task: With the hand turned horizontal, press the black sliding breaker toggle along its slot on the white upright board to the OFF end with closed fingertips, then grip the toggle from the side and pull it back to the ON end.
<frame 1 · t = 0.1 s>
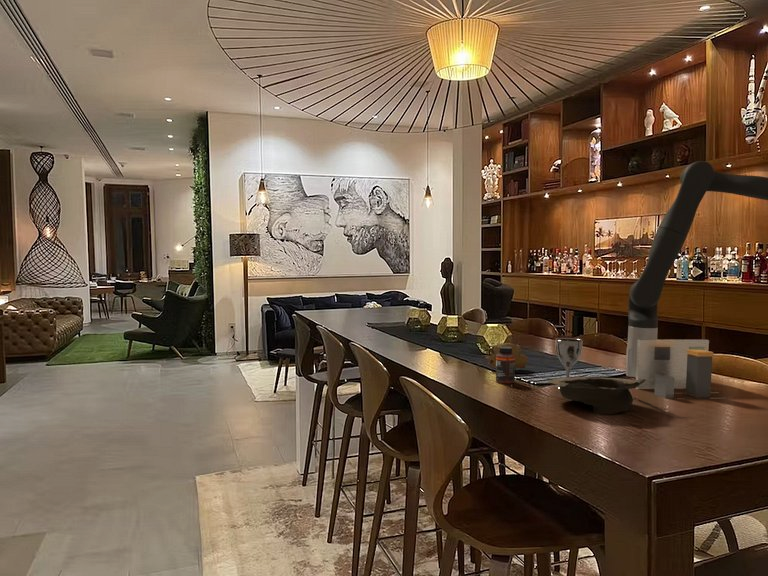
supplement bottle: (504, 383, 186), on the table
white upright board: (697, 399, 168), on the table
wine glass: (567, 388, 180), on the table
breaker toggle: (698, 373, 168), point 8 cm above the table, slide at 6.0 cm
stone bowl: (593, 407, 158), on the table
wooden carving: (505, 371, 206), on the table
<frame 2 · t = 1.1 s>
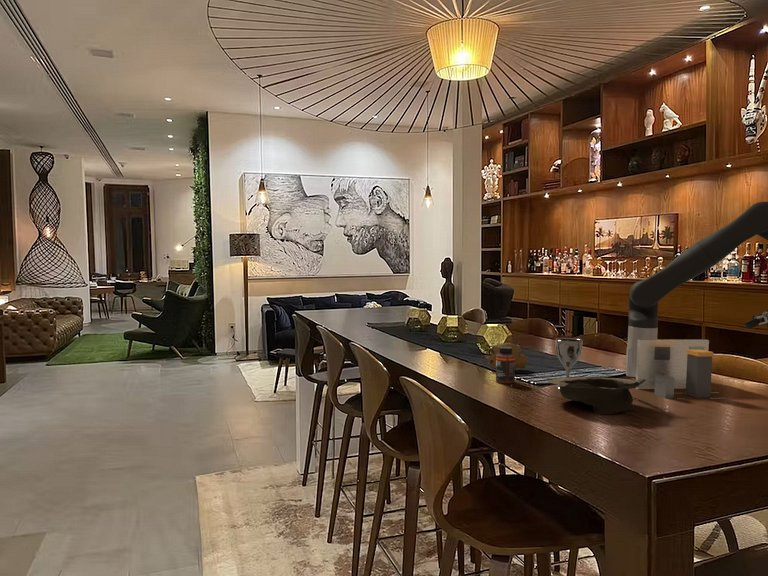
hand: (756, 326, 172), 21 cm above the table, tool tilted 70°, fingers open, 8 cm apart
nothing on the table moved.
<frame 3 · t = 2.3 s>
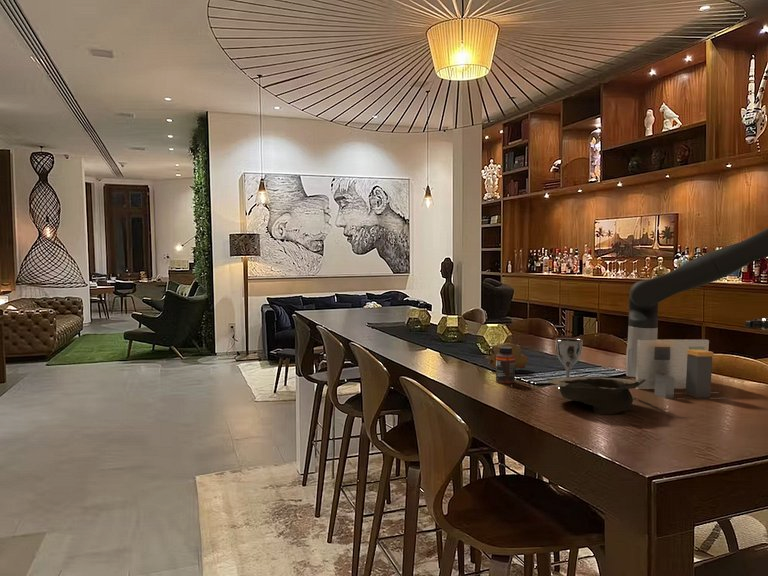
hand: (747, 324, 169), 22 cm above the table, tool horizontal, fingers closed
nothing on the table moved.
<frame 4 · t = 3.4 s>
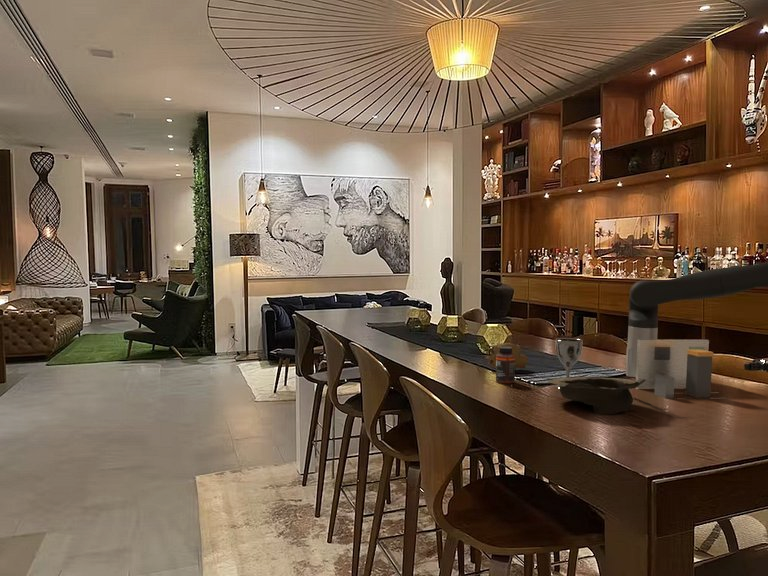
hand: (746, 366, 170), 10 cm above the table, tool horizontal, fingers closed
nothing on the table moved.
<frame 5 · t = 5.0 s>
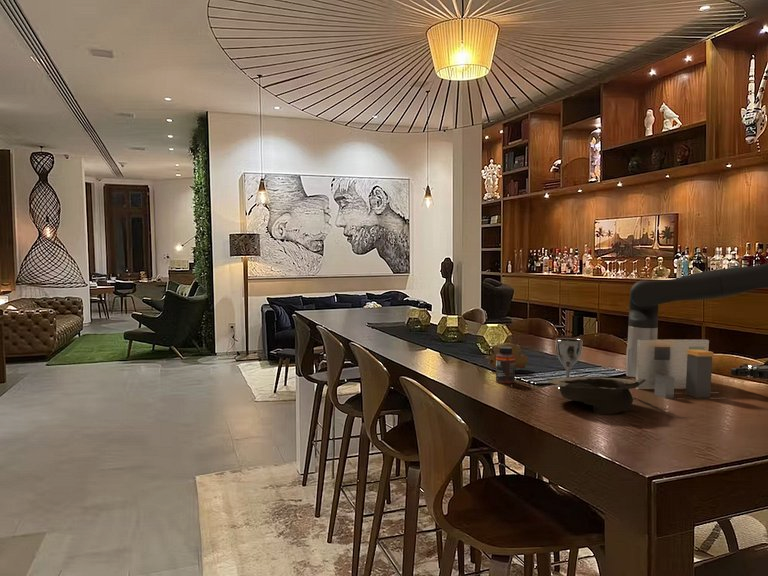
hand: (733, 372, 169), 8 cm above the table, tool horizontal, fingers closed
nothing on the table moved.
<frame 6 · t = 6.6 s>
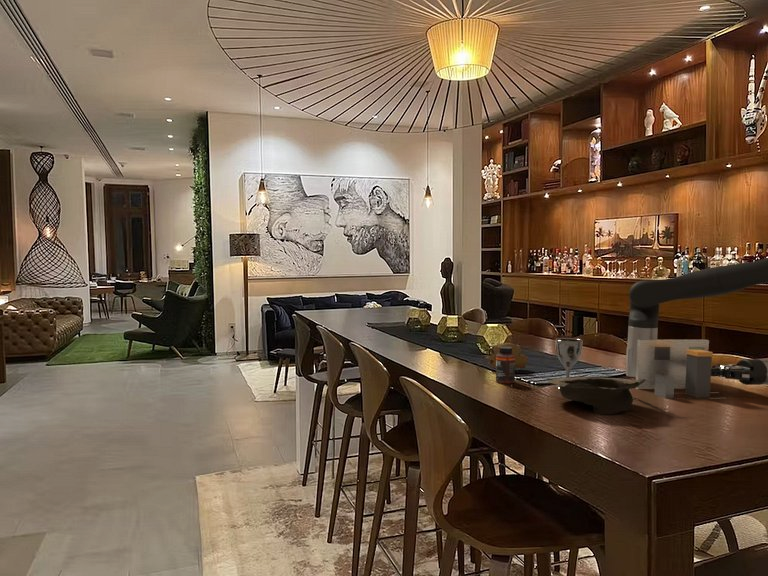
hand: (705, 372, 168), 8 cm above the table, tool horizontal, fingers closed
breaker toggle: (698, 373, 168), point 8 cm above the table, slide at 6.2 cm, touching gripper
everything else where it was.
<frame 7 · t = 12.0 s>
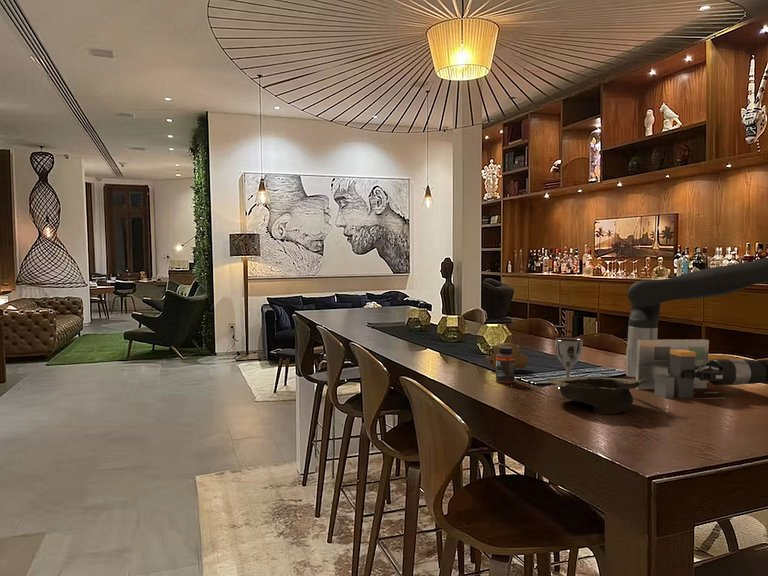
hand: (674, 372, 166), 8 cm above the table, tool horizontal, fingers closed on breaker toggle, 4 cm apart
breaker toggle: (681, 373, 167), point 8 cm above the table, slide at 11.5 cm, touching gripper
everything else where it was.
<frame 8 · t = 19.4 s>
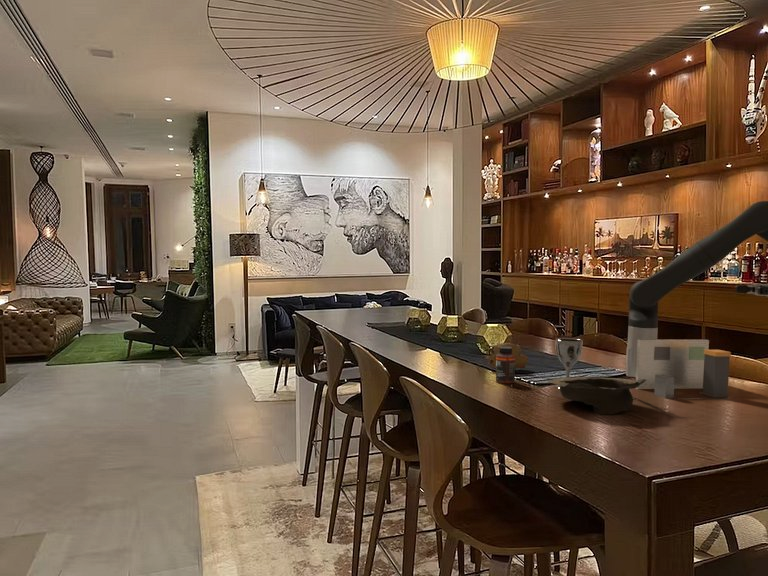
hand: (747, 289, 169), 32 cm above the table, tool horizontal, fingers open, 8 cm apart
breaker toggle: (716, 373, 168), point 8 cm above the table, slide at 0.5 cm
everything else where it was.
at the end: breaker toggle slide at 0.5 cm; the gripper is holding nothing; breaker toggle touching nothing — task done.
